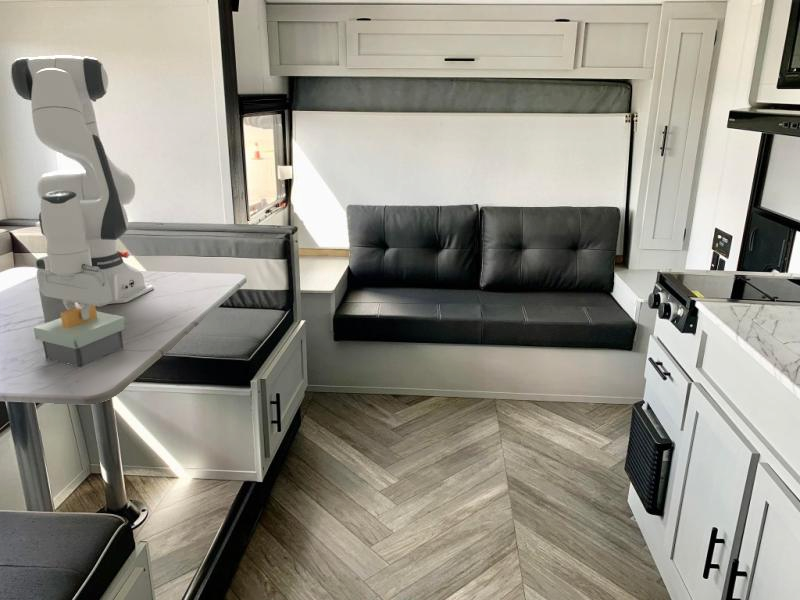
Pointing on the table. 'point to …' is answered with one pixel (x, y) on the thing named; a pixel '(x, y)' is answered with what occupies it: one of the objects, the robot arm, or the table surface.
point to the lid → (79, 328)
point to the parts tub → (84, 350)
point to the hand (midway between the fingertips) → (79, 317)
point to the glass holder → (52, 307)
